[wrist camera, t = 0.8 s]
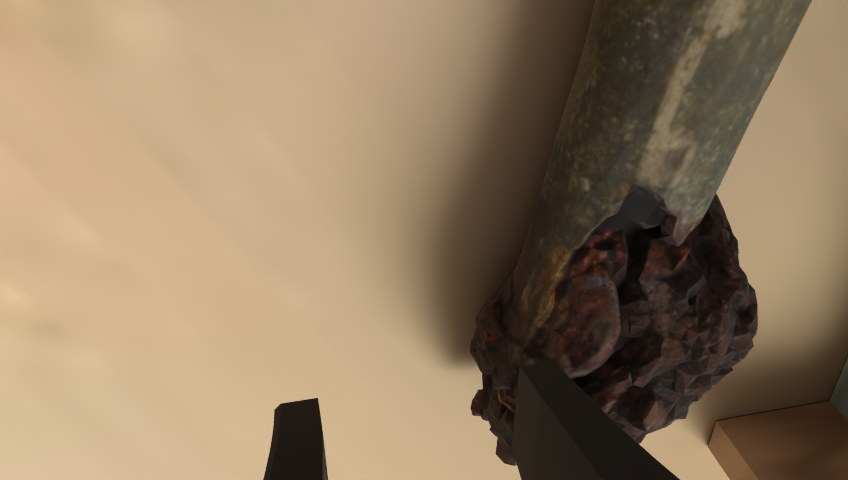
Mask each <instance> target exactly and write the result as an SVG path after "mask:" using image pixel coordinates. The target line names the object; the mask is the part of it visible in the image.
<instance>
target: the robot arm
mask: <svg viewBox="0 0 848 480" xmlns="http://www.w3.org/2000/svg"><path fill="white" fill-rule="evenodd" d="M512 449H513V452H514V456H515V459H516V462H517V466H518V469H519V472H520V476H521V479H522V480H680V479H679V478H677V477H676V476H675V475H674V474H673V473H671V472H670V471H669V470H668V469H666V468H665V467H664V466H663V465H662V464H661V463H660V462H658V461H657V460H656V459H655V458H654V457H653V456H651V455H650V454H649V453H648V452H647V451H646V450H645V449H644V448H643V447H641V446H640V445H639V444H638V443H637V442H636V441H635V440H634V439H633V438H632V437H630V436H629V435H628V434H627V433H626V432H625V431H624V430H623V429H622V428H621V427H620V426H618V425H617V424H616V423H615V422H614V421H613V420H612V419H611V418H610V417H609V416H608V415H607V414H606V413H605V412H604V411H603V410H602V409H601V408H600V407H599V406H598V405H597V404H596V403H595V402H594V401H593V400H592V399H591V398H590V397H589V396H588V395H587V394H586V393H585V392H584V391H583V390H582V389H581V388H580V387H579V386H578V385H577V384H576V383H575V382H574V381H573V380H572V379H571V378H570V377H569V376H568V375H567V374H566V373H565V372H564V371H563V370H562V369H561V368H560V367H559V366H558V365H557V364H555V363H554V362H553V361H552V362H545V363H539V364H533V365H526V366H520V367H519V377H518V388H517V398H516V408H515V419H514V429H513V440H512ZM263 480H328V475H327V466H326V457H325V449H324V440H323V431H322V424H321V417H320V410H319V403H318V398H315V399H308V400H302V401H295V402H289V403H282V404H280V405H279V406H278V407H277V408H276V409H275V413H274V428H273V435H272V442H271V448H270V453H269V458H268V462H267V467H266V471H265V476H264V479H263Z"/></svg>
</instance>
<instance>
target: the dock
mask: <svg viewBox="0 0 848 480" xmlns="http://www.w3.org/2000/svg"><path fill="white" fill-rule="evenodd" d="M708 448H709V449H710V451H711V452H712V454H713V455H714V457H715V458H716V460H717V461H718V463H719V464H720V465H721V467H722V468H723V470H724V471H725V473H726V474H727V476H728V477H729V479H730V480H848V358H847V361H846V363H845V365H844V368H843V370H842V372H841V375H840V377H839V379H838V382H837V384H836V386H835V389H834V391H833V393H832V396H831V398H830V400H829V401H826V402H820V403H815V404H809V405H803V406H798V407H792V408H787V409H781V410H775V411H770V412H764V413H759V414H753V415H747V416H742V417H736V418H731V419H725V420H719V421H716V423H715V426H714V430H713V433H712V436H711V439H710V442H709V446H708Z"/></svg>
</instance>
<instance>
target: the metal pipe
mask: <svg viewBox="0 0 848 480" xmlns="http://www.w3.org/2000/svg"><path fill="white" fill-rule="evenodd" d="M811 1H812V0H595V3H594V7H593V11H592V15H591V19H590V23H589V27H588V31H587V35H586V39H585V43H584V47H583V51H582V55H581V58H580V62H579V65H578V68H577V71H576V74H575V77H574V80H573V84H572V87H571V90H570V93H569V96H568V99H567V102H566V105H565V109H564V112H563V115H562V118H561V121H560V125H559V128H558V132H557V135H556V139H555V142H554V146H553V149H552V153H551V156H550V160H549V163H548V167H547V170H546V174H545V177H544V181H543V184H542V188H541V191H540V195H539V198H538V201H537V205H536V208H535V211H534V214H533V217H532V221H531V224H530V227H529V230H528V233H527V236H526V239H525V242H524V245H523V248H522V251H521V254H520V257H519V260H518V263H517V266H516V268H515V269H514V270H513V272H512V273H511V274H510V277H509V278H508V279H507V280H506V281H505V282H504V284H503V285H502V286H501V287H500V289H499V291H498V292H497V293H496V295H495V296H494V297H493V298H492V299H491V301H489V302H488V303H487V304H486V305H484V307H483V308H482V310H481V311H480V312H479V314H478V315H477V317H476V318H475V319H476V323H477V329H476V331H475V334H474V336H473V339H472V341H471V345H470V353H471V354H472V356H473V358H474V359H475V361H476V363H477V365H478V367H479V369H480V371H481V372H482V381H483V389H481V390H478V392H477V393H476V395H475V397H474V398H473V400H472V404H471V411H472V414H473V416H481V417H482V419H483V420H486V421H489V423H490V425H491V428H490V429H489V430H490V431H491V432H492V433H493V434H494V435H495V436H497V437H498V440H497V447H496V455H497V456H498V457H499V458H500V459H501V460H502V461H503V462H504V463H505V464H509V465H513V466H515V465H517V462H516V459H515V456H514V452H513V449H512V440H513V429H514V419H515V408H516V398H517V388H518V377H519V367H520V366H526V365H533V364H539V363H545V362H552V361H553V362H554V363H555V364H557V365H558V366H559V367H560V368H561V369H562V370H563V371H564V372H565V373H566V374H567V375H568V376H569V377H570V378H571V379H572V380H573V381H574V382H575V383H576V384H577V385H578V386H579V387H580V388H581V389H582V390H583V391H584V392H585V393H586V394H587V395H588V396H589V397H590V398H591V399H592V400H593V401H594V402H595V403H596V404H597V405H598V406H599V407H600V408H601V409H602V410H603V411H604V412H605V413H606V414H607V415H608V416H609V417H610V418H611V419H612V420H613V421H614V422H615V423H616V424H617V425H618V426H620V427H621V428H622V429H623V430H624V431H625V432H626V433H627V434H628V435H629V436H630V437H632V438H633V439H634V440H635V441H636V442H637V443H638V444H639V443H641V442H642V440H643V439H644V437H645V435H646V434H648V433H651V432H654V431H656V430H659V429H662V428H665V427H667V426H668V425H670V424H671V423H672V422H673V421H675V420H677V419H686V416H687V413H688V407H689V406H690V404H691V403H692V402H694V401H698V400H699V399H700V398H701V397H702V396H703V394H704V393H706V392H707V391H709V390H710V389H711V386H712V385H714V384H716V383H718V382H719V381H720V380H721V379H722V378H723V377H724V376H725V375H726V374H728V373H729V372H731V371H732V370H733V369H732V368H731V367H732V366H733V365H735V364H737V363H738V362H740V361H741V360H743V359H744V358H745V356H746V355H747V354H748V352H749V351H750V350H751V349H752V347H753V341H752V339H753V337H754V336H755V334H756V331H757V326H758V318H757V300H756V294H755V290H754V289H753V288H752V286H751V285H750V284H749V283H748V280H747V276H746V274H745V273H744V272H743V270H742V269H741V268H740V266H739V260H738V254H739V252H738V240H737V239H736V238H735V236H734V235H733V233H732V230H731V227H730V224H729V222H728V220H727V217H726V214H725V211H724V209H723V207H722V204H721V202H720V200H719V198H718V196H717V194H716V192H717V190H718V188H719V186H720V183H721V181H722V179H723V177H724V175H725V173H726V171H727V169H728V167H729V165H730V163H731V161H732V159H733V157H734V154H735V152H736V150H737V148H738V146H739V144H740V142H741V139H742V137H743V135H744V133H745V131H746V129H747V127H748V125H749V123H750V121H751V119H752V117H753V115H754V113H755V111H756V109H757V107H758V105H759V103H760V101H761V99H762V97H763V95H764V93H765V91H766V90H767V88H768V86H769V84H770V82H771V81H772V79H773V77H774V75H775V73H776V71H777V69H778V67H779V65H780V63H781V61H782V59H783V57H784V55H785V53H786V51H787V49H788V47H789V45H790V43H791V41H792V39H793V37H794V35H795V33H796V31H797V29H798V27H799V25H800V23H801V21H802V19H803V17H804V15H805V13H806V11H807V9H808V7H809V5H810V3H811Z"/></svg>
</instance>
